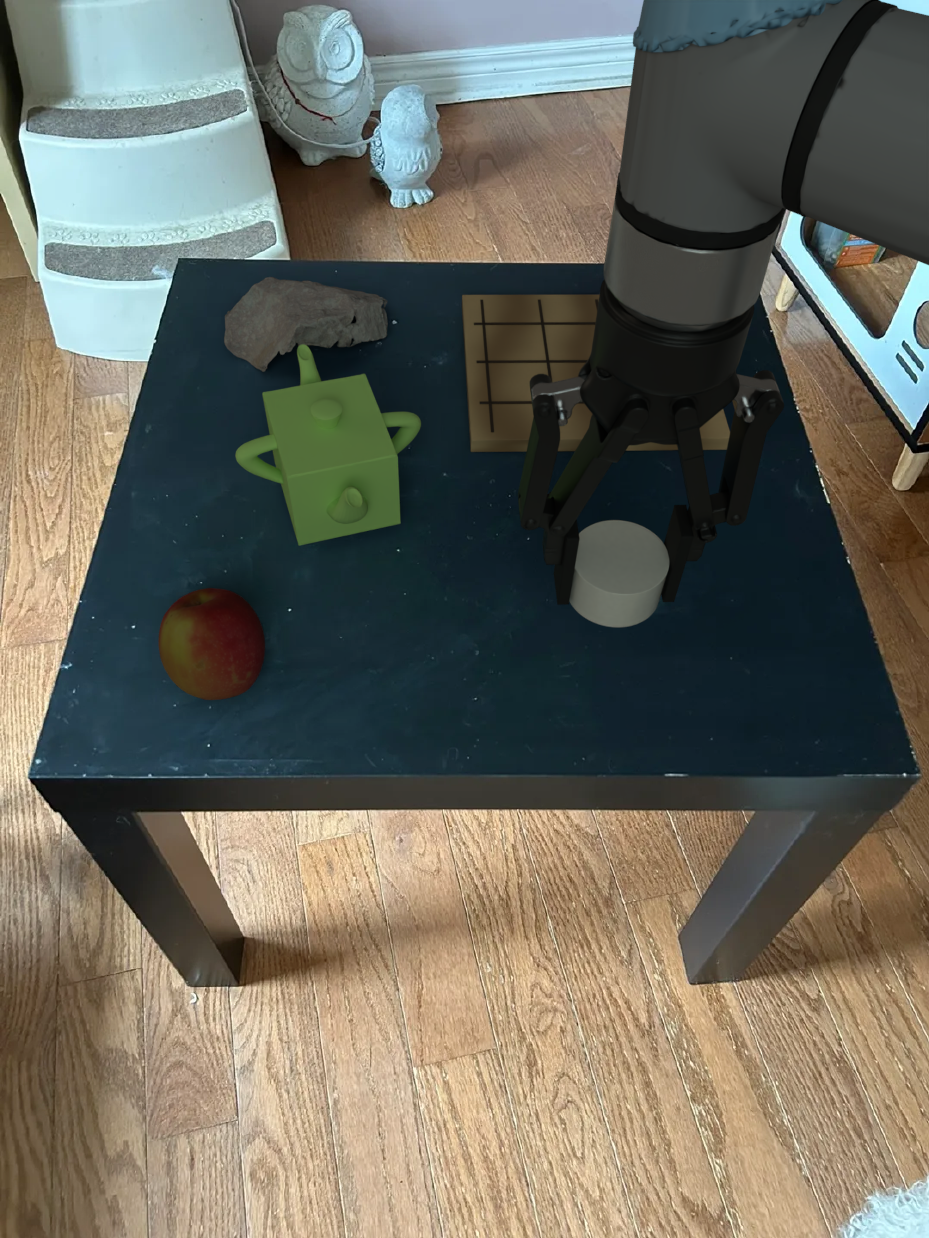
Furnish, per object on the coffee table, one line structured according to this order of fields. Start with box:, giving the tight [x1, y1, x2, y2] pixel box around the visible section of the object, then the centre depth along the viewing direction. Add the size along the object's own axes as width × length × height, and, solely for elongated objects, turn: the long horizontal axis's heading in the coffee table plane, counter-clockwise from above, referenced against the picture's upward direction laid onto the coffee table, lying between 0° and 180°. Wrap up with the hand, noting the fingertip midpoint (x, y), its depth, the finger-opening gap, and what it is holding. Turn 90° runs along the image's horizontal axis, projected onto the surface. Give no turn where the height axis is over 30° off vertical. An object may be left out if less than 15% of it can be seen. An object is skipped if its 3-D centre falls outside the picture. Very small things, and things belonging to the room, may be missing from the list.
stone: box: [223, 276, 389, 373], centre depth 96 cm, size 15×8×15 cm
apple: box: [157, 587, 266, 701], centre depth 70 cm, size 8×8×8 cm
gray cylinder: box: [569, 519, 670, 628], centre depth 64 cm, size 6×6×4 cm
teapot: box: [235, 344, 422, 546], centre depth 80 cm, size 15×13×11 cm
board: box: [461, 294, 731, 453], centre depth 95 cm, size 24×22×2 cm
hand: (613, 587), depth 65 cm, fingers closed on gray cylinder, 6 cm apart
